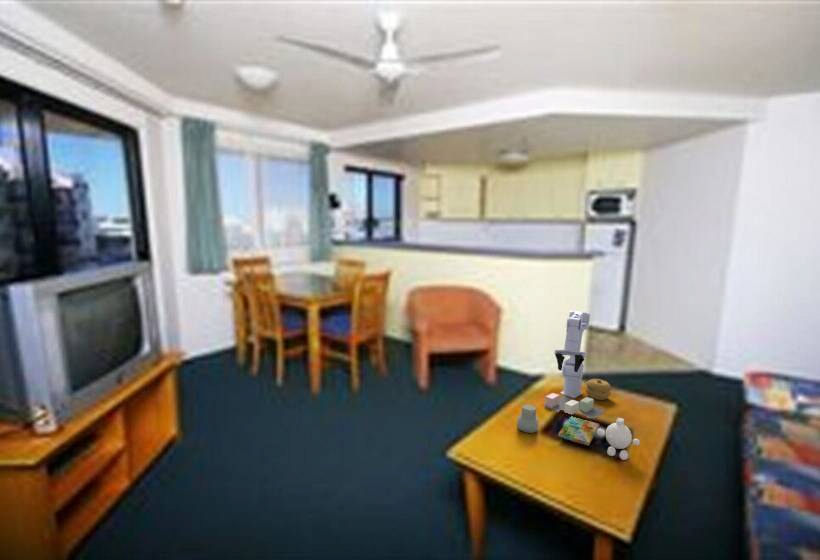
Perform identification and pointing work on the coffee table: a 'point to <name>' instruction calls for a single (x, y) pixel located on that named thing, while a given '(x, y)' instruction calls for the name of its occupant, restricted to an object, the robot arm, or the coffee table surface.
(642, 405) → the coffee table surface
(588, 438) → the puzzle game
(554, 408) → the mat
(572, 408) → the cream brick
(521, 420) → the air freshener
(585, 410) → the sage brick
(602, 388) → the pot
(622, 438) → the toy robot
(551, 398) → the rose brick
